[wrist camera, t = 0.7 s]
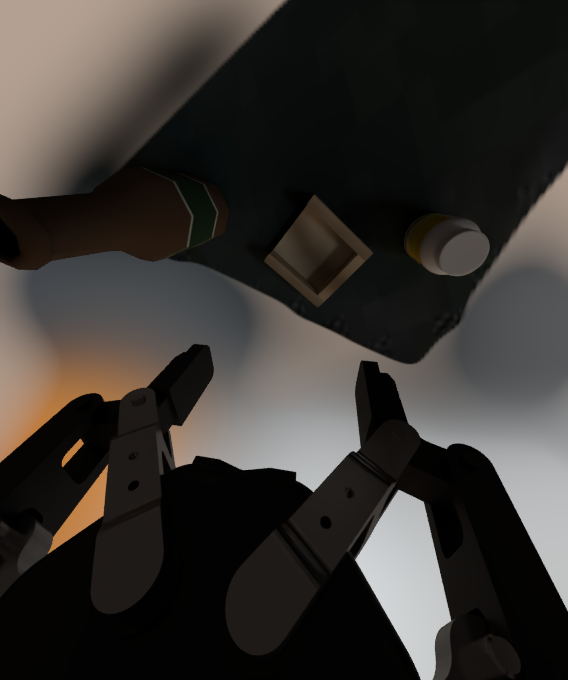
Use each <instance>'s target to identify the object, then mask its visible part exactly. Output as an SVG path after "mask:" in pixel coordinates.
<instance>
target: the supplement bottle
mask: <svg viewBox="0 0 568 680" xmlns="http://www.w3.org/2000/svg"><path fill="white" fill-rule="evenodd" d="M404 246H405V250H406V252H407V253H408V255H409V256H410V257H412V258H413V259H414V260H415V261H417V262H418V263H419V264H421V265H422V266H423V267H424V268H426V269H427V270H429V271H430V272H432V273H435V274H440V275H447V274H449V275H452V276H462V275H466V274H468V273H471V272H473V271H474V270H476V269H477V268H478V267H479V266H480V265H481V264H482V263H483V262H484V261H485V259H486V257H487V255H488V252H489V241H488V239H487V237H486V236H485V235H484V234H483V233H481V231H480V229H479V227H478V226H477V225H476V224H475V223H474V222H472V221H470V220H468V219H465V218H459V217H454V216H449V215H444V214H439V213H430V214H426V215H423V216H421V217H420V218H418V219H417V220H415V221H414V222H413V223H412V224H411V225H410V227H409V228H408V230H407V232H406V234H405V239H404Z"/></svg>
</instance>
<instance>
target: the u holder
mask: <svg viewBox="0 0 568 680" xmlns="http://www.w3.org/2000/svg"><path fill="white" fill-rule="evenodd" d="M372 254H373V253H372V251H371V250H370V249H369V248H368V247H367V246H366V245H365V244H364V243H363V242H362V241H361V240H360V239H359V238H358V237H357V236H356V235H355V234H354V233H353V232H352V231H351V230H350V229H349V228H348V227H347V226H346V225H345V224H344V223H343V222H342V221H341V220H340V219H339V218H338V217H337V216H336V215H335V214H334V213H333V212H332V211H331V210H330V209H329V208H328V207H327V206H326V205H325V204H324V203H323V202H322V201H321V200H320V199H319V198H318V197H317V196H316V195H313V197H312V198H311V199H310V201H309V202H308V203H307V206H306V207H305V209H304V210H303V211H302V213H301V214H300V215H299V217H298V218H297V219H296V221H295V222H294V223H293V225H292V226H291V227H290V229H289V230H288V231H287V232H286V234H285V235H284V236H283V238H282V239H281V240H280V242H279V243H278V244H277V246H276V247H275V248H274V250H273V251H272V252H271V253H270V254H269V255H268V256H267V258H266V259H265V260H264V262H265V263H267V264H268V265H269V266H270V267H271V268H272V269H274V270H275V271H276V272H277V273H278V274H279V275H281V276H282V277H283V278H284V279H285V280H286V281H288V282H289V283H290V284H291V285H292V286H293V287H295V288H296V289H297V290H298V291H299V292H300V293H302V294H303V295H304V296H305V297H306V298H307V299H308V300H310V301H311V302H312V303H313V304H314V305H315V306H317V307H319V306H320V305H321V304H322V303H323V302H324V301H325V300H326V299H327V298H328V297H329V296H330V295H331V294H332V293H333V292H334V291H335V290H336V289H337V288H338V287H339V286H340V285H341V284H342V283H343V282H344V281H345V280H346V279H347V278H349V277H350V276H351V275H352V274H353V273H354V272H355V271H356V270H357V269H358V268H359V267H360V266H361V265H362V264H363V263H364V262H365V261H366V260H367V259H368V258H369V257H370V256H371V255H372Z"/></svg>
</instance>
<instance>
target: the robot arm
mask: <svg viewBox="0 0 568 680" xmlns="http://www.w3.org/2000/svg"><path fill="white" fill-rule="evenodd" d="M213 373H214V367H213V362H212V357H211V352H210V348H209V346H208V345H199V344H194V345H192V346H191V347H190V348H189V349H188V351H187V352H183V353H182V354H180V355H178V356H176V357H175V358H174V359H173V360H172V361H171V362H170V363H169V365H167V366H166V367H165V369H164V370H163V371H162V372H161V373H160V374H159V375H158V376H157V377H156V378H155V379H154V380H153V381H152V382H151V383H150V385H149V386H148V387H147V388H140V389H136V390H133V391H131V392H129V393H128V394H127V395H125V397H123V398H122V400H115V401H108V402H104V400H103V398H102V396H101V395H99V394H96V393H91V394H86V395H83V396H80V397H78V398H76V399H74V400H72V401H71V402H69V403H68V404H67V405H66V406H65V407H64V408H62V409H61V410H60V411H59V412H58V413H57V414H56V415H54V416H53V417H52V418H51V419H50V420H49V421H48V422H46V423H45V424H44V425H43V426H42V427H41V428H39V429H38V430H37V431H36V432H35V433H34V434H33V435H32V436H30V437H29V438H28V439H27V440H26V441H25V442H23V443H22V444H21V445H20V446H19V447H18V448H16V449H15V450H14V451H13V452H12V453H11V454H10V455H8V456H7V457H6V458H5V459H4V460H3V461H2V462H1V463H0V680H421V679H420V677H419V674H418V672H417V670H416V667H415V665H414V663H413V661H412V659H411V657H410V655H409V653H408V651H407V649H406V648H405V646H404V644H403V642H402V641H401V639H400V637H399V636H398V634H397V632H396V630H395V629H394V627H393V625H392V623H391V622H390V620H389V618H388V617H387V615H386V613H385V611H384V609H383V608H382V606H381V604H380V603H379V601H378V599H377V597H376V595H375V594H374V592H373V590H372V589H371V587H370V585H369V583H368V582H367V580H366V578H365V576H364V575H363V573H362V571H361V569H360V568H359V566H358V564H357V563H356V561H355V559H356V558H357V556H358V555H359V553H360V551H361V550H362V548H363V546H364V545H365V544H366V542H367V540H368V538H369V537H370V535H371V533H372V532H373V530H374V528H375V526H376V524H377V523H378V521H379V519H380V518H381V516H382V515H383V513H384V511H385V510H386V508H387V507H388V505H389V503H390V502H391V501H392V499H393V498H394V496H395V494H396V493H397V491H398V490H401V491H403V492H405V493H407V494H409V495H411V496H413V497H416V498H417V499H419V500H421V501H423V502H424V504H425V509H426V513H427V517H428V522H429V526H430V530H431V533H432V534H431V535H432V539H433V543H434V547H435V551H436V556H437V560H438V564H439V569H440V573H441V578H442V582H443V586H444V590H445V595H446V599H447V603H448V608H449V612H450V616H451V622H449V623H448V624H446V625H445V626H443V627H442V628H441V629H440V630H439V631H438V634H437V636H436V640H435V654H436V670H435V675H434V678H433V680H568V611H567V609H566V607H565V605H564V603H563V601H562V599H561V597H560V595H559V593H558V591H557V589H556V587H555V585H554V583H553V582H552V580H551V578H550V576H549V574H548V572H547V570H546V568H545V566H544V564H543V562H542V560H541V558H540V556H539V554H538V552H537V550H536V549H535V546H534V544H533V543H532V541H531V539H530V537H529V535H528V533H527V531H526V529H525V527H524V525H523V523H522V521H521V519H520V517H519V515H518V513H517V511H516V509H515V508H514V505H513V503H512V501H511V500H510V498H509V496H508V494H507V492H506V490H505V488H504V486H503V484H502V482H501V480H500V478H499V476H498V474H497V472H496V470H495V468H494V466H493V465H492V463H491V462H490V460H489V459H488V458H487V457H486V456H485V455H484V454H482V453H481V452H480V451H478V450H476V449H475V448H473V447H471V446H468V445H465V444H452V445H450V446H449V447H448V448H447V449H445V448H442V447H440V446H437V445H434V444H432V443H429V442H427V441H425V440H423V439H422V438H420V436H419V434H418V432H417V431H416V430H415V429H414V428H413V427H412V426H411V425H409V424H408V422H407V419H406V415H405V412H404V409H403V406H402V403H401V400H400V398H399V394H398V391H397V387H396V384H395V381H394V380H393V379H392V378H391V377H390V375H389V374H388V373H380V371H379V367H378V363H377V362H371V361H361V362H360V367H359V371H358V377H357V381H356V388H355V397H356V406H357V416H358V426H359V434H360V444H361V448H360V450H359V451H358V452H356V453H355V452H354V451H353V452H351V453H349V454H348V455H347V456H346V458H344V460H343V461H342V462H341V463H340V464H339V465H338V466H337V467H336V468H335V469H334V471H333V472H332V473H331V474H330V475H329V476H328V477H327V478H326V479H325V480H324V481H323V483H322V484H321V485H320V486H319V487H318V488H317V489H316V490H315V491H314V492H312V491H311V490H310V489H309V488H308V487H306V486H305V485H303V484H302V483H300V482H297V481H296V472H292V471H286V470H280V469H274V468H264V469H253V470H241V469H238V468H236V467H234V466H232V465H230V464H228V463H226V462H224V461H222V460H219V459H214V458H208V457H201V456H196V457H195V459H194V461H193V463H192V464H187V465H183V466H180V467H177V468H176V467H175V462H174V455H173V448H172V442H171V435H170V431H169V429H170V427H171V426H172V425H177V426H182V425H183V423H184V421H185V420H186V418H187V417H188V415H189V414H190V412H191V410H192V409H193V407H194V406H195V404H196V403H197V401H198V399H199V398H200V396H201V395H202V393H203V392H204V390H205V389H206V387H207V385H208V384H209V382H210V381H211V379H212V377H213ZM80 438H81V440H82V441H83V443H84V444H83V446H82V447H81V448H80V449H79V450H78V451H77V452H76V453H75V454H74V456H73V457H72V458H71V459H70V460H69V461H68V462H67V463H66V464H65V466H64V467H63V468H62V460H63V458H64V456H65V454H66V453H67V452H68V451H69V450H70V449H71V448H72V447H73V446H74V444H75V443H77V441H78V440H79V439H80ZM107 465H108V473H107V484H106V494H105V505H104V516H103V517H101V518H100V519H98V520H97V521H95V522H94V523H92V524H91V525H89V526H88V527H87V528H85V529H84V530H82V531H81V532H79V533H78V534H76V535H75V536H74V537H72V538H71V539H69V540H68V541H66V542H65V543H63V544H62V545H60V546H59V547H58V548H56V549H55V550H53V551H52V552H50V553H49V554H47V553H48V552H49V550H50V547H51V545H52V541H53V537H54V535H55V534H56V532H57V531H58V530H59V529H60V527H61V526H62V525H63V523H64V522H65V521H66V519H67V518H68V517H69V515H70V514H71V513H72V511H73V510H74V509H75V507H76V506H77V505H78V503H79V502H80V501H81V499H82V498H83V497H84V495H85V494H86V493H87V491H88V490H89V488H90V487H91V486H92V485H93V483H94V482H95V481H96V479H97V478H98V477H99V475H100V474H101V473H102V471H103V470H104V469H105V467H106V466H107Z"/></svg>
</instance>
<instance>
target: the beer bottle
mask: <svg viewBox="0 0 568 680" xmlns="http://www.w3.org/2000/svg"><path fill="white" fill-rule="evenodd" d="M229 211H230V210H229V208H228V206H227V204H226V201H225V199H224V197H223V195H222V193H221V191H220V189H219V187H218V186H217V185H215V184H212V183H210V182H208V181H206V180H204V179H202V178H199V177H197V176H194V175H191V174H185V173H178V172H171V171H164V170H157V169H151V168H144V167H126V168H124V169H122V170H120V171H119V172H117V173H115V174H114V175H112V176H111V177H110V178H108V179H107V180H105V181H104V182H103V183H101V184H100V185H99V186H97V187H96V188H95V189H94V190H93V192H91V193H88V194H74V195H63V196H50V197H38V198H26V199H16V200H15V199H14V200H13V199H10V198H8V197H6V196H3V195H1V194H0V262H1V263H4V264H6V265H9V266H11V267H14V268H16V269H19V270H38V269H39V268H41V267H42V266H44V265H45V264H47V263H49V262H50V261H52V260H59V259H65V258H71V257H77V256H83V255H89V254H95V253H100V252H106V251H123V252H125V253H127V254H130V255H132V256H134V257H137V258H139V259H142V260H148V261H153V262H154V261H158V260H162V259H165V258H168V257H170V256H173V255H176V254H178V253H181V252H183V251H186V250H188V249H191V248H193V247H196V246H199V245H201V244H203V243H205V242H207V241H209V240H211V239H213V238H215V237H217V236H219V235H221V234H223V233H224V232H225V228H226V224H227V220H228V215H229Z"/></svg>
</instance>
